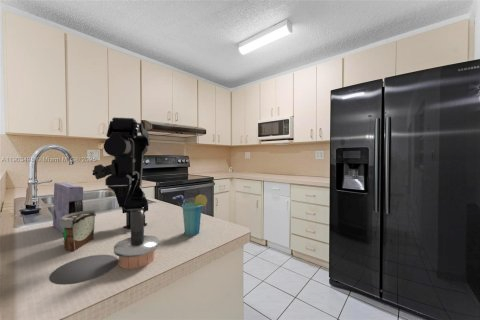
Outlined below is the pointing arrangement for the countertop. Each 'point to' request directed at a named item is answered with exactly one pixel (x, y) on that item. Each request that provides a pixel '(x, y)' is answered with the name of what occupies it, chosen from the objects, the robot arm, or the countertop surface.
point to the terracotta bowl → (136, 260)
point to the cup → (192, 214)
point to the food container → (78, 229)
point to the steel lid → (136, 238)
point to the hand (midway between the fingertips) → (124, 203)
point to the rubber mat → (83, 269)
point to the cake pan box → (66, 201)
